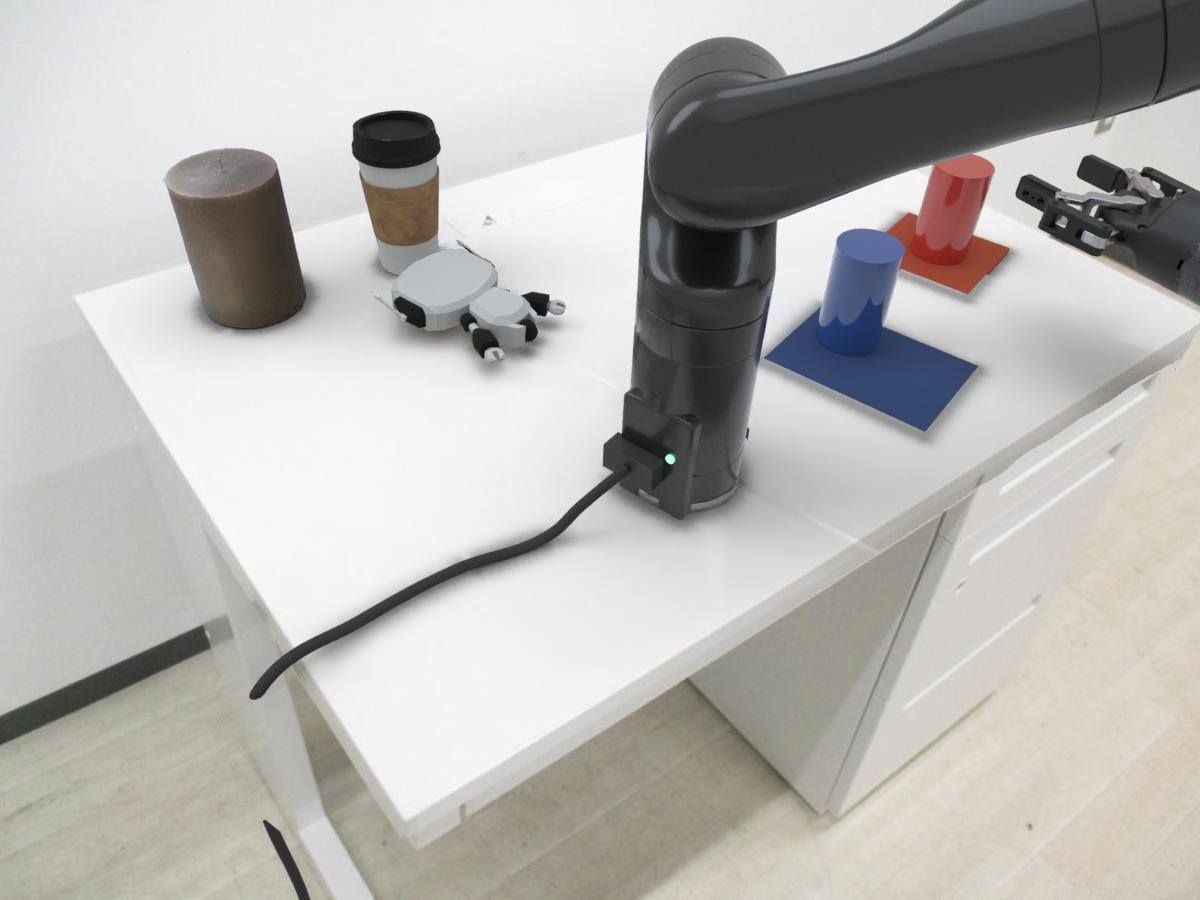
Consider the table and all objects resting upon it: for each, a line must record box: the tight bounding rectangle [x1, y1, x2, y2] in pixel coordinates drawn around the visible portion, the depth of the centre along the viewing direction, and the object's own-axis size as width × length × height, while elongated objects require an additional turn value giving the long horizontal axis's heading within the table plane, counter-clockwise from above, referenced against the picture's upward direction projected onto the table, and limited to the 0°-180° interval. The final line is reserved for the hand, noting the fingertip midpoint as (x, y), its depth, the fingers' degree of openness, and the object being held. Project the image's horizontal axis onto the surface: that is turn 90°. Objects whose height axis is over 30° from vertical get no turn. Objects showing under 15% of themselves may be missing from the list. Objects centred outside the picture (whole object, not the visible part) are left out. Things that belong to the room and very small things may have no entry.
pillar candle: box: [162, 147, 307, 329], centre depth 88 cm, size 10×10×15 cm
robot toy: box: [371, 239, 567, 365], centre depth 90 cm, size 12×4×15 cm
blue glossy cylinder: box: [816, 228, 905, 356], centre depth 87 cm, size 6×6×10 cm
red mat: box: [885, 212, 1011, 295], centre depth 103 cm, size 12×12×1 cm
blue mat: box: [763, 306, 979, 433], centre depth 88 cm, size 12×16×1 cm
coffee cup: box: [351, 109, 442, 276], centre depth 94 cm, size 8×8×15 cm
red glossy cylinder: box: [910, 153, 996, 265], centre depth 100 cm, size 6×6×10 cm
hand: (1051, 174), depth 86 cm, fingers open, 8 cm apart
